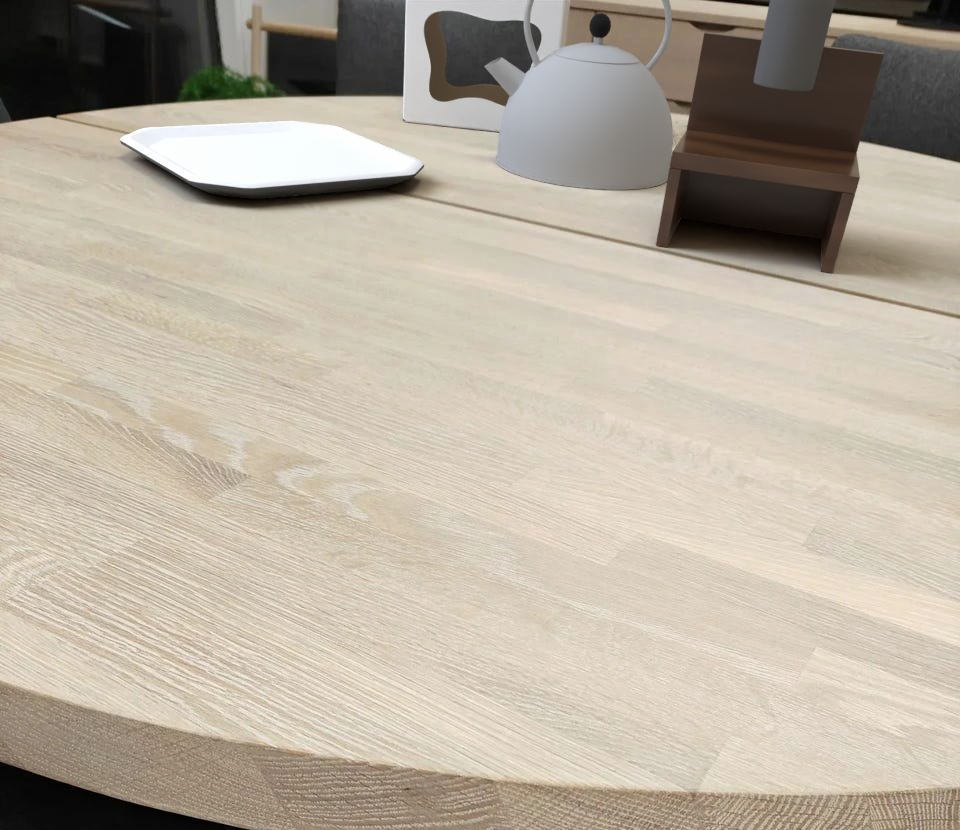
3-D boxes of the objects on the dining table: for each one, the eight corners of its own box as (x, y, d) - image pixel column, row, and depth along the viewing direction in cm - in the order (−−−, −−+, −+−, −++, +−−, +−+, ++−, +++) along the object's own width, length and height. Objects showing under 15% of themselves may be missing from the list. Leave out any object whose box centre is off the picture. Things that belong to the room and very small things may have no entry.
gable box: (400, 121, 145) (406, -120, 128) (417, 106, 155) (424, -118, 138) (552, 138, 144) (578, -103, 127) (558, 122, 154) (583, -103, 137)
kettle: (481, 180, 120) (497, -46, 106) (475, 141, 138) (488, -57, 124) (684, 195, 122) (725, -25, 108) (652, 154, 140) (684, -39, 126)
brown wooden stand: (671, 214, 114) (705, 31, 103) (831, 238, 111) (883, 52, 100) (655, 245, 103) (691, 45, 92) (832, 273, 100) (890, 69, 89)
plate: (209, 212, 100) (207, 189, 99) (107, 149, 118) (104, 128, 117) (445, 190, 115) (446, 169, 114) (322, 137, 133) (322, 118, 131)
